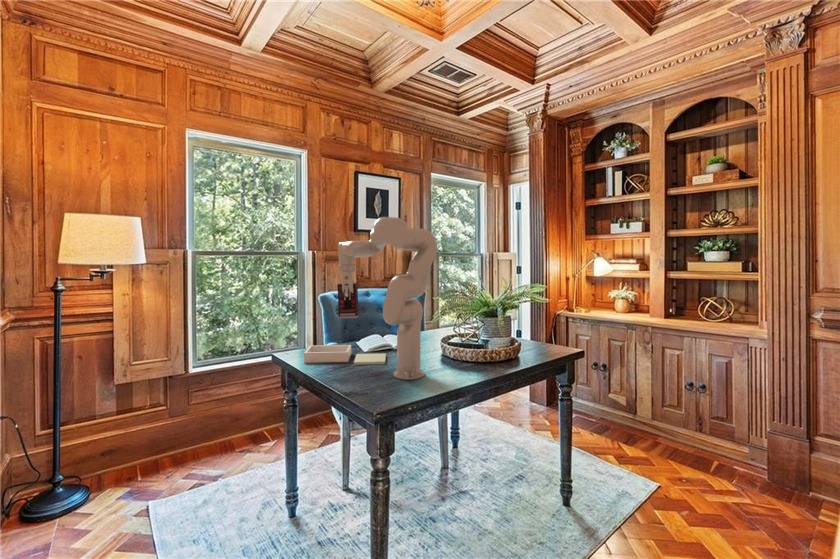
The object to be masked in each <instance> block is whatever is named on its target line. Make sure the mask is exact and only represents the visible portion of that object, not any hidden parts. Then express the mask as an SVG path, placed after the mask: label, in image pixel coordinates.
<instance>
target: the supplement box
mask: <svg viewBox="0 0 840 559" xmlns="http://www.w3.org/2000/svg"><path fill="white" fill-rule="evenodd" d="M336 285H337V286H336V287H337V304H338V305H337V306H338V318H339V319H358V318H359V316H360V315H359V312H360V310H359V294H358V293H359V291H358V283H357V282H354V284H353V289H354V293H352V292H348V293H351V309H345V308H344V293H343V291H342V283H338V284H336ZM345 285H346V284H345Z"/></svg>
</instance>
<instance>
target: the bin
mask: <svg viewBox="0 0 840 559" xmlns="http://www.w3.org/2000/svg"><path fill="white" fill-rule="evenodd" d="M351 355H352V344H335V345H334V344H329V345H328V344H326V345H324V344H323V345H318V344H317V345H309V346H308V348H306V350H305V351H304V352H303V363H306V364H307V363H310V364H311V363H349V361H350V359H351Z"/></svg>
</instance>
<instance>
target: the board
mask: <svg viewBox="0 0 840 559" xmlns="http://www.w3.org/2000/svg"><path fill="white" fill-rule="evenodd" d="M386 355H387V353H386V352H385V353H384V352H383V353H357V354H355V358H354V360H353V365H354V366H358V365H359V366H361V365H385V364H386V357H387V356H386Z"/></svg>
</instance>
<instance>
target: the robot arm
mask: <svg viewBox="0 0 840 559" xmlns="http://www.w3.org/2000/svg"><path fill="white" fill-rule="evenodd" d="M369 238H370V239H369V240H350V241H341V242H339V243H338V245H337V246H338V247H337V248H338V249H337V251H338V270H339V271H338V272H339V273H341V284H342V291H343V293H344V308H345V309H351V293H348V292H352V293H354V289H353V284H354V283H355V274H354V273H356V258H371V257H373V256H376V255H378V254H380V253H381V252H382V251H383V250H384V249H385V247H386V246H388V245H389V246H392V247H393V248H395V249H396V250H401V251H416V252H415V253H414V255H413V256H412V257H411V259H410V261H409V264H408V268H407V272H406V273H405V274H398V275H395V276H393V277H392V278H391V280H390V281H389V282H388V285H387V290H386V294H385V299H384V303H383V307H382V318H383V320H384V322H385V323H386V324H387V325H390V326H398V327H397V332H396V333H397V334H396V355H397V356H396V364H397V365H396V367H397V368H396V370H395V371H393V377H394V378H396V379H398V380H405V381H410V380H411V381H412V380H418V379H422V378H423V377H424V376H425V372H424V370H423V369H421V327H422V320H423V312H424V308H423V305H422V303H421V302H420V301H419V300H418V299H416V298H419V297H421V296H423V295H424V294H425V291H426V288H427V284H428V279H429V276H430V271H431V267H432V265H433V262H434V259H435V256H436V253H437V242H436V238H435V236H434V235H433V233H432V232H431V231H429V230H427V229H424V228H419V227H418V228H417V227H408V224H407V221H405V220H404V219H402V218H400V217H395V216H394V217H393V216H392V217H391V216H381V217H379V218H378V219H376V220H375V222H374V225H373V229H371V231H370V235H369ZM345 284H346V285H345Z"/></svg>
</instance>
